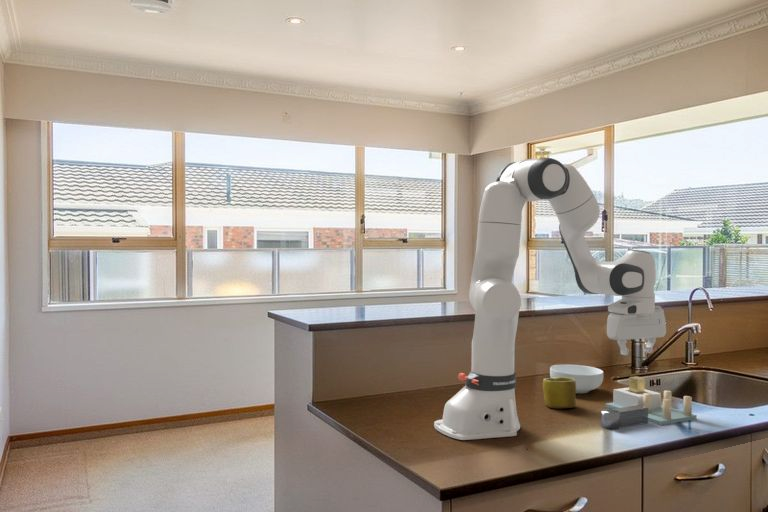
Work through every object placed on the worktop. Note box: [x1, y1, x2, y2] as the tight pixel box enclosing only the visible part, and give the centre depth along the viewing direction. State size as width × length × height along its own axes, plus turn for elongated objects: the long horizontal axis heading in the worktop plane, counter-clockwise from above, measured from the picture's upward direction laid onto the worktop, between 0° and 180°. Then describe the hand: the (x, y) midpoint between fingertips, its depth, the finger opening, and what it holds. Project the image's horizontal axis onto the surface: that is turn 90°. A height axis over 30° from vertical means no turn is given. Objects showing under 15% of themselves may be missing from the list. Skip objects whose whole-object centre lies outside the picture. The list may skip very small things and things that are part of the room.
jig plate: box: [604, 386, 698, 426], centre depth 166 cm, size 14×19×6 cm
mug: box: [542, 377, 577, 410], centre depth 173 cm, size 12×10×10 cm
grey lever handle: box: [600, 405, 649, 430], centre depth 155 cm, size 14×5×4 cm, turn 115°
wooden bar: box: [628, 375, 646, 394], centre depth 170 cm, size 3×3×8 cm
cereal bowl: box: [549, 363, 604, 394], centre depth 191 cm, size 17×17×7 cm
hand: (636, 353), depth 170 cm, fingers open, 8 cm apart
